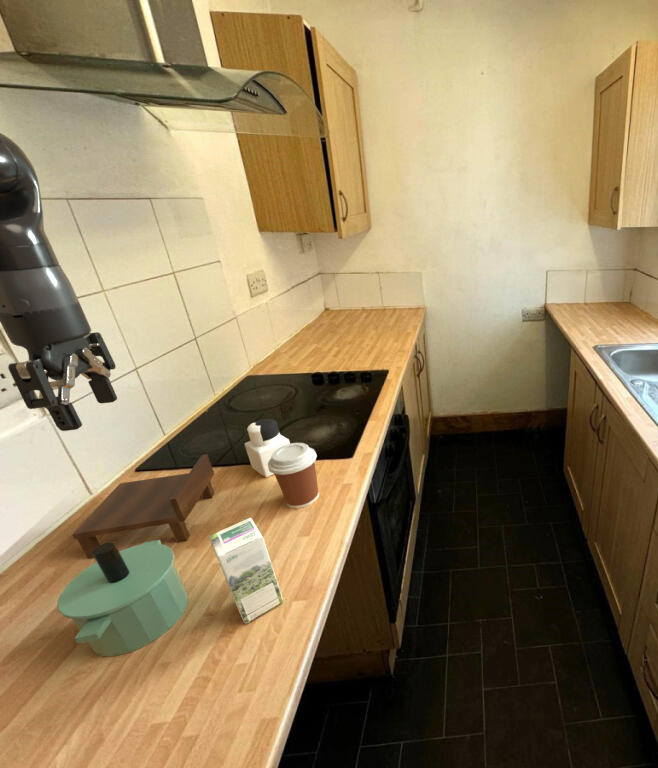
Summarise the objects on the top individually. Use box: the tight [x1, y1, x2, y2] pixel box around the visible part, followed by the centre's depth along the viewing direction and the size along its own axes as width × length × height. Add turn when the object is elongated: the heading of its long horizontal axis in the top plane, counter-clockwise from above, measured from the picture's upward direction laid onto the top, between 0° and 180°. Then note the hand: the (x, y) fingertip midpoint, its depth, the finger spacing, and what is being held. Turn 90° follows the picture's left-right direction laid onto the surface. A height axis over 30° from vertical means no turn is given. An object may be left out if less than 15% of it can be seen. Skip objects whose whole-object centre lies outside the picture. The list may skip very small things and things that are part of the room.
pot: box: [71, 539, 189, 657], centre depth 63 cm, size 12×17×8 cm
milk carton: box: [208, 517, 284, 625], centre depth 64 cm, size 6×6×14 cm
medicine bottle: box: [244, 418, 291, 479], centre depth 99 cm, size 7×7×12 cm
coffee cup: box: [267, 442, 320, 509], centre depth 88 cm, size 9×9×12 cm
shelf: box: [71, 453, 215, 560], centre depth 82 cm, size 17×15×10 cm
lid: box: [57, 541, 176, 620], centre depth 60 cm, size 13×13×7 cm
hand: (91, 414), depth 60 cm, fingers open, 8 cm apart
